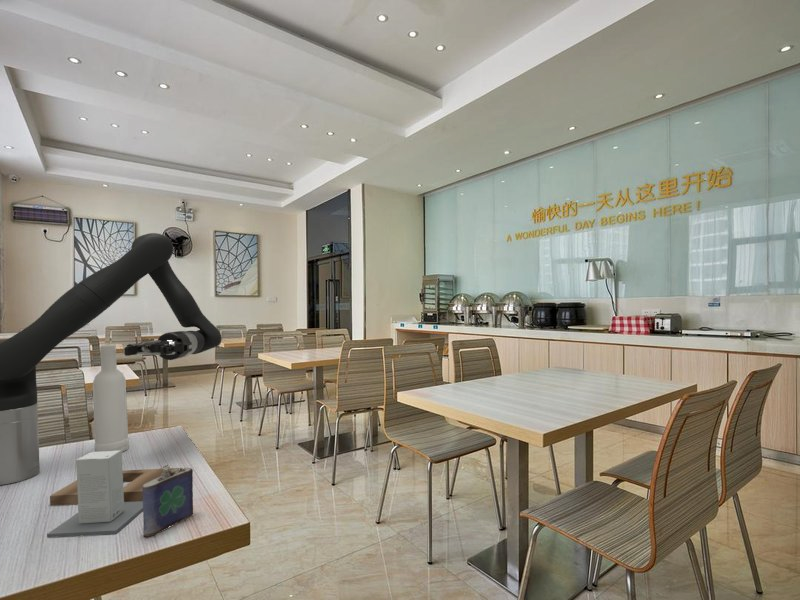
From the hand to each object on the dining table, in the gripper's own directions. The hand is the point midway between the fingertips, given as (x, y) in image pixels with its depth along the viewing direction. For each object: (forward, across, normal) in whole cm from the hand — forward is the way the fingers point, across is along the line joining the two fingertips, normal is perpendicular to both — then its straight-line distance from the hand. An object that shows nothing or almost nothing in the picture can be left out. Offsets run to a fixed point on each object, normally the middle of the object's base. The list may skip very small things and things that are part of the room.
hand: (144, 351), depth 102 cm
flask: (+24, +18, +30) cm, 43 cm away
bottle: (-17, -19, +30) cm, 39 cm away
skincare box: (+22, +4, +29) cm, 37 cm away
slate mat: (+22, +4, +30) cm, 37 cm away
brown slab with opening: (+9, -1, +30) cm, 31 cm away
